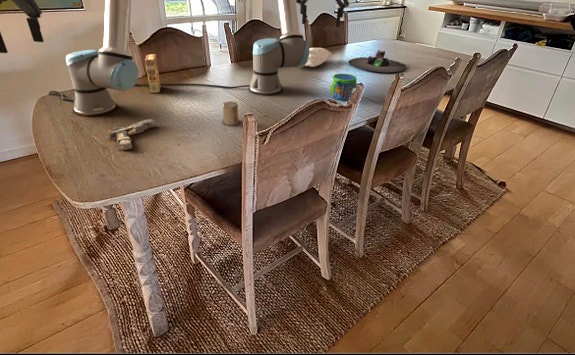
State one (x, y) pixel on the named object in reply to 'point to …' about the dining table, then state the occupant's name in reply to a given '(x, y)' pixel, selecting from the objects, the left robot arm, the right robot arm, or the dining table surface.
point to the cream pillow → (317, 56)
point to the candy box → (152, 73)
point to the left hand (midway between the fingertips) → (21, 46)
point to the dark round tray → (377, 63)
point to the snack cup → (343, 86)
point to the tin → (230, 113)
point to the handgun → (129, 132)
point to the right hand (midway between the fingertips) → (320, 25)
